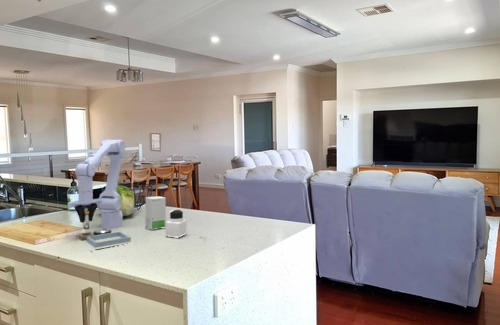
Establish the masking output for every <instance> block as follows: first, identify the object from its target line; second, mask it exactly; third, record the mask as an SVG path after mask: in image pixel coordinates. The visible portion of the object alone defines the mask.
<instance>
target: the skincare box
mask: <svg viewBox="0 0 500 325" xmlns="http://www.w3.org/2000/svg"><path fill="white" fill-rule="evenodd" d="M166 201H167V199H166V197H164V196H160V195H159V196H146V197H145V221H144V222H145V225H144V226H145V227H146V228H145V229H147V228H149V229H155V228H161V227H165V228H166V219H167V218H166ZM149 229H148V230H149Z"/></svg>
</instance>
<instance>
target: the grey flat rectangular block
mask: <svg viewBox="0 0 500 325" xmlns="http://www.w3.org/2000/svg"><path fill="white" fill-rule="evenodd" d="M107 233H112V230H111V229H104V228H97V229H96V230H94V231H93V232H91V231H88V232H82V233H78V235H75V237H76V239H78V240H79V241H81V242H83V241H87V237H88V236H95V235H101V234H107Z"/></svg>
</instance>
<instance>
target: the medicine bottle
mask: <svg viewBox="0 0 500 325" xmlns="http://www.w3.org/2000/svg"><path fill="white" fill-rule="evenodd" d="M183 214H184V211H182V210H181V209H172V210H170V211H169V217H168V218H169V220H167V221H165V236H166V235H170V236H180V235H182V234H184V233H186V234H187V219H184V218H183V217H184V215H183Z"/></svg>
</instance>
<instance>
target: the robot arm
mask: <svg viewBox="0 0 500 325" xmlns="http://www.w3.org/2000/svg"><path fill="white" fill-rule="evenodd" d="M125 151H126V144H125V141H124V140H123V139H106V138H105V139H103V140H101V143H100V147H99V148H98V150H97V151H96V152H95V153H90V154H89V156H88V157H87V158H86V159H85V160H84V161H83V162H81V163H78V164H77V165H76V166H75V170H74V174H75V176H76V180H77V181H78V182H77V187H78V200H76V201H70V202H68V203H67V206H68V208H71V209H72V208H74V210H75V211H76V212H75V213H77V215H78V219H79V223H83V222H84V210H86V208H85V207H84V206H86V207H87V210H90V213H89V222H92V221H93V220H94V215H95V212H96V210H97V209H98V210H99V212H101V213H100V214H101V215H100V216H101V229H109V230H111V229H115V228H121V227H124V226H123V225H124V224H123V222H124V221H123V219H124V217H123V215H122V212H121V210H119V209H120V207H121V196H120V195H119V194H118V193H117V192H116V191H117V185H119V178H120V171H121V166H122V161H123V160H122V159H124V157H125ZM105 156H106V158H109V159H110V161H109V165H108V166H109V167H108V171H107V172H108V173H107V179H106V185H105V189H104V190H105V191H104V190H103V191H104V192H103V191H102V192H103V193H102V192H101V193H100V194H99V197H98V198H93V197H94V194H93V192H94V190H93V187H94V186H93V185H94V184H93V177H94V176H95V174H96V170H97V168H98V167H99V166H100V165H101V163H102V162H103V160H102V159H103V158H105ZM108 197H111V198H108Z"/></svg>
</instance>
